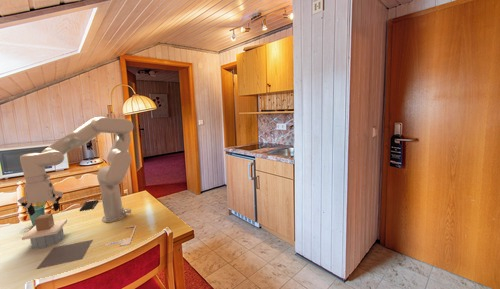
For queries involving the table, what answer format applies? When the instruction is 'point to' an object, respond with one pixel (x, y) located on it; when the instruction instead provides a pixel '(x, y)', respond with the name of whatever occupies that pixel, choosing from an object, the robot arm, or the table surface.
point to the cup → (37, 211)
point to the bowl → (47, 240)
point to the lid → (44, 227)
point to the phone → (89, 205)
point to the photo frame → (123, 240)
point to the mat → (65, 254)
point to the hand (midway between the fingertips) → (45, 212)
